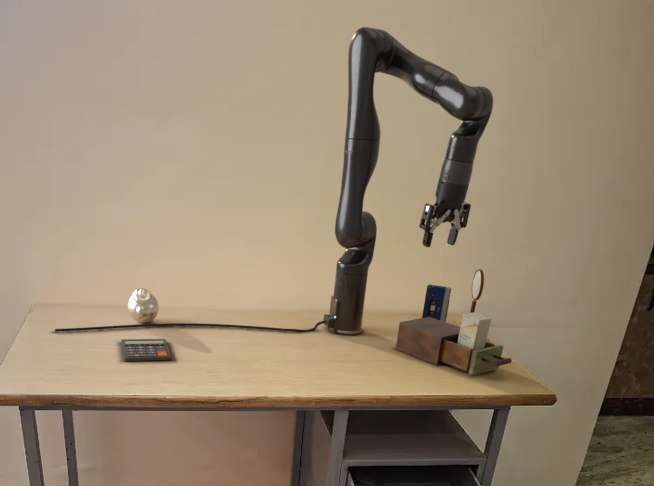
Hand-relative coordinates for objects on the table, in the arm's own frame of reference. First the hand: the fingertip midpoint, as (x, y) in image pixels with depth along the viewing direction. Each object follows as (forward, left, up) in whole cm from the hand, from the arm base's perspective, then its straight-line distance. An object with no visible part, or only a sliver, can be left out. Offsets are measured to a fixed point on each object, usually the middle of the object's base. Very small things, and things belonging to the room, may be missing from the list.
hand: (438, 245), depth 182 cm
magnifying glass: (+20, +11, -29) cm, 37 cm away
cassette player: (+15, +25, -29) cm, 41 cm away
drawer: (+8, -15, -28) cm, 33 cm away
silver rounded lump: (-75, +28, -29) cm, 85 cm away
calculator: (-76, +2, -28) cm, 81 cm away
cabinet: (+2, -3, -28) cm, 29 cm away
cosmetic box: (+7, -14, -27) cm, 31 cm away
